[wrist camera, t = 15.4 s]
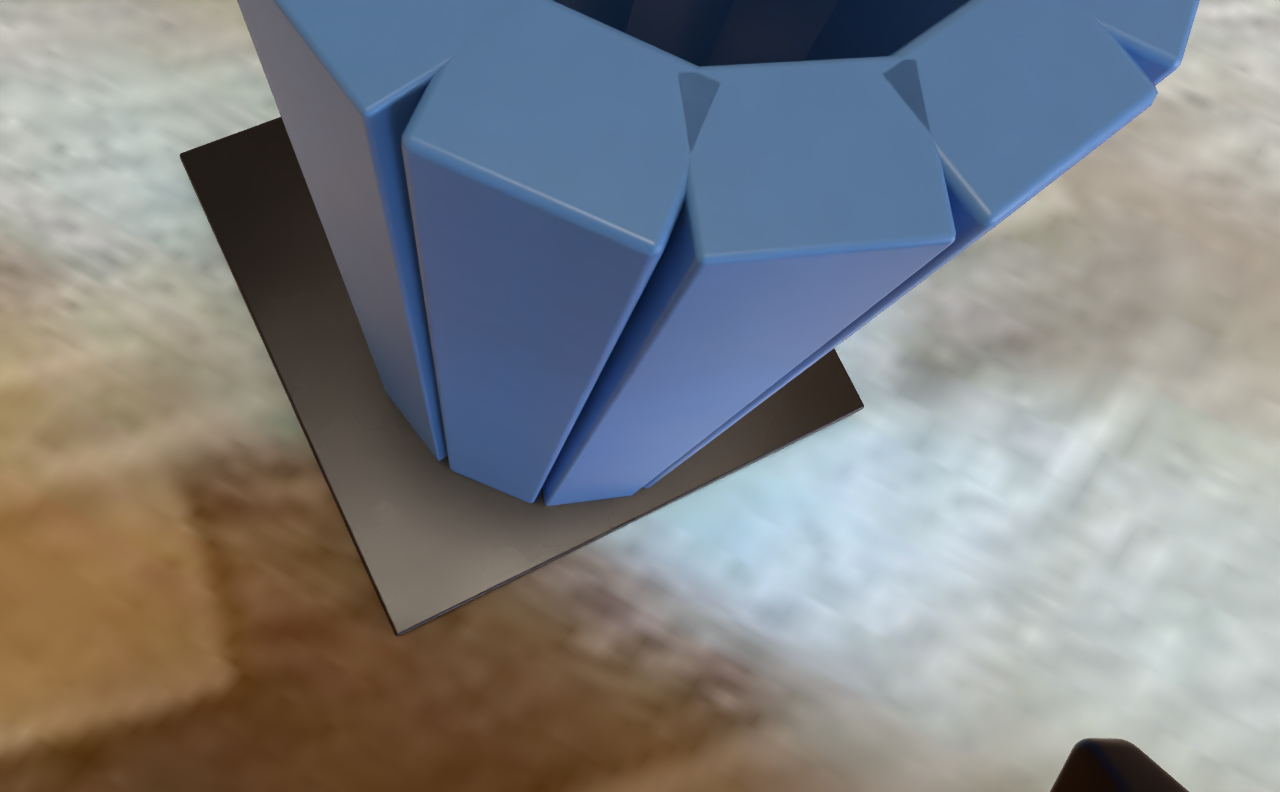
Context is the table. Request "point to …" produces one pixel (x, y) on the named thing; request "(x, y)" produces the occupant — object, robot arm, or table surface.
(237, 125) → the table surface
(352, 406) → the peg stand
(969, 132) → the blue fluted tube
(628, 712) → the table surface
